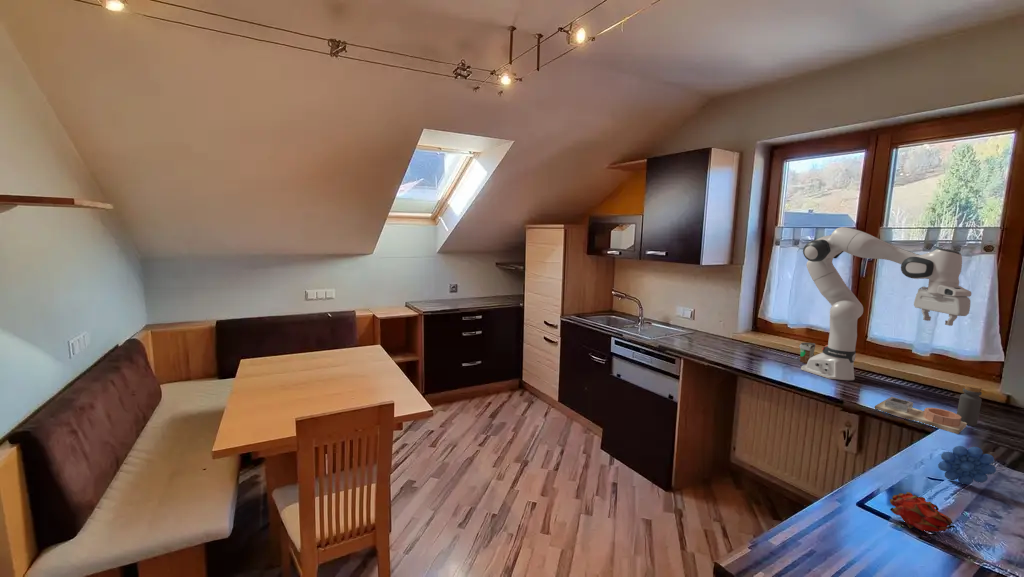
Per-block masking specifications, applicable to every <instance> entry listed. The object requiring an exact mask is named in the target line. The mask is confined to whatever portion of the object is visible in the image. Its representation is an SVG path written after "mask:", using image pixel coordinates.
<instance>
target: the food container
mask: <svg viewBox="0 0 1024 577" xmlns="http://www.w3.org/2000/svg"><path fill="white" fill-rule="evenodd" d="M799 348H800V352H799V353H800V355H799V362H800V363H802V364H804V365H807V362H808V360H809V359H810V358H811V357H813V356H815V349H816V343H814V342H800V344H799Z"/></svg>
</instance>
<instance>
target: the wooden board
mask: <svg viewBox="0 0 1024 577" xmlns="http://www.w3.org/2000/svg"><path fill="white" fill-rule="evenodd" d="M885 401H886V399H885V400H883V401H881V402H879V403H878V404H875V405H874V408H875V409H878V410H881V411H880V412H882V411H884V412H883V413H885V412H887V413H886V414H888V413H889V415H892V416H895V417H899V418H902V419H905V418H906V419H905V420H909V419H910V420H909V421H912V420H915V421H919V422H922V423H925V424H929V425H932V426H935V427H934V428H936V427H937V428H936V429H939V430H943V431H947V432H949V433H953V434H956V435H959V434H960V433H961V432H962V431H963V430H965V428H967V426H968V425H967V423H965V422H962V421H961V423H960V425H959V426H947V425H942V424H938V423H935V422H932V421H930V420H927V419H925V418H924V417H923V415H924V410H923V409H917V408H914V407H912V410H911V411H909V412H908V413H904V412H901V411H897V410H894V409H890V408H887V407H885ZM875 409H874V410H875ZM878 410H877V411H878ZM915 421H914V422H915ZM919 422H918V423H919ZM922 423H921V424H922ZM925 424H924V425H925ZM929 425H928V426H929ZM932 426H931V427H932Z"/></svg>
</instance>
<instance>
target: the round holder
mask: <svg viewBox="0 0 1024 577" xmlns="http://www.w3.org/2000/svg"><path fill="white" fill-rule="evenodd" d="M923 411H924V415H923V417H924V418H925V419H927V420H930V421H932V422H935V423H938V424H942V425H947V426H959V425H960V423H961V418H962V417H961V416H960V415H958V414H957V412H953V411H950V410H946V409H944V408H943V409H942V408H938V407H926V408H924V410H923Z"/></svg>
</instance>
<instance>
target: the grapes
mask: <svg viewBox="0 0 1024 577" xmlns="http://www.w3.org/2000/svg"><path fill="white" fill-rule="evenodd" d="M940 457H941V459H942V461H939V462H938V464H937V467H938V469H939V470H940V471H943V472H944V477H945V478H946V479H947V480H949V481H956V480H957V481H958V482H959V483H960V484H961V483H963V484H962V485H964V484H967V485H966V486H968V485H972V483H973V482H976V483H980V484H982V483H985V482H987V481H988V479H989V478H988V476H989V475H990V476H991V475H994V474H995V473H996V472H997V467H996V466H995V465H994V464H993V463H994V462H995V458H994V456H993V455H992V454H990V453H984V452H983V449H982V448H980V447H978V446H971V447H968V448H966V446H962V445H956V446H955V447H953V449H952V452H951V451H944V452H942V454H941V455H940Z"/></svg>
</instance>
